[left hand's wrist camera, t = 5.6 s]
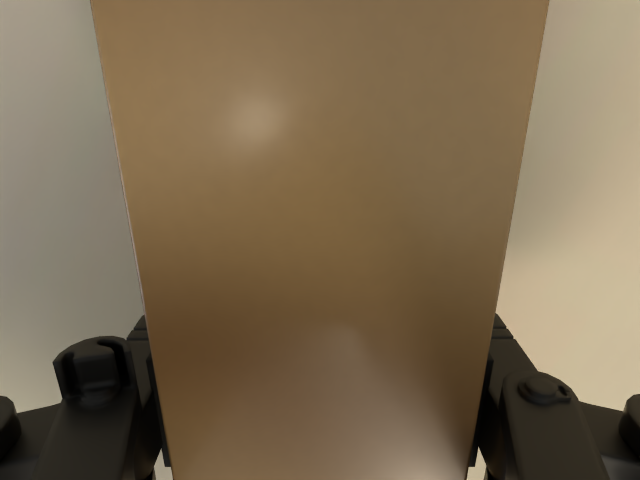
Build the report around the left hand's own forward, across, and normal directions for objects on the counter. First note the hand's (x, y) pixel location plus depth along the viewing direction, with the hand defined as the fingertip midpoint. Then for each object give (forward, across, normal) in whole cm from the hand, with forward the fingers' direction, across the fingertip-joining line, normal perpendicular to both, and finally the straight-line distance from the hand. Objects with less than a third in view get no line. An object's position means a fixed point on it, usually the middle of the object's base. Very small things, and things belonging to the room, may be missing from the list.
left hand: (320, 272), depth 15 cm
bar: (+1, 0, -26) cm, 26 cm away
